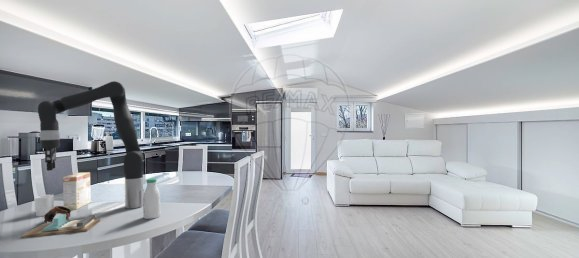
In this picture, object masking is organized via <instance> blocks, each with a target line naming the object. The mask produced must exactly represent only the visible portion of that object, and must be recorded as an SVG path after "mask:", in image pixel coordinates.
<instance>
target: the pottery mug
mask: <svg viewBox="0 0 579 258" xmlns="http://www.w3.org/2000/svg"><path fill="white" fill-rule="evenodd" d="M71 212H72V210H70V209H68V208H66V207H64V206H61V205H55V207H53V209H51V210H50V211H49V212H48V213H46V214H45V216H43V218H44V221H43V222H44V224H48V223H53V221H54V218H56V217H55V216H56V215H57V214H60V215H61V214H66V221H67V220H68V221H69V219H70V217H71Z"/></svg>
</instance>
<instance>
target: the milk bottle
mask: <svg viewBox="0 0 579 258" xmlns="http://www.w3.org/2000/svg"><path fill="white" fill-rule="evenodd" d="M142 207H143V208H142V209H143V218H144V219H145V220H153V219H157V218H159V217H161V194H160V190H159V188H158V186H157V178H154V177H153V178H148V179H146V188H145V189H144V198H143V206H142Z"/></svg>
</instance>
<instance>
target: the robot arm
mask: <svg viewBox="0 0 579 258" xmlns="http://www.w3.org/2000/svg"><path fill="white" fill-rule="evenodd" d="M106 98H109V100H110V103H111V105H112V108H113V118H114V124H115V127H116V131H117V134H118V136H119V137H120V139H121V141H122V143H123V145H124V149H125V155H124V157H123V174H124V197H125V198H124V203H125V204H124V207H125V209H137V208H142V207H143V198H144V192H145V188H144V172H143V165H142V164H143V161H144V154H143V152H142V150H141V147H140V144H139V141H138V136H137V131H136V127H135V126H136V125H135V123H134V119H133V115H132V114H131V110H130V109H129V106H128V102H127V97H126V90H125V87H124V85H123V84H122V83H121V82H119V81H109V82H107V83H105V84H103V85H100V86H98V87H95V88H93V89H90V90H86V91H82V92H79V93H74V94H70V95H67V96H64V97H61V98H60V99H58V100H54V101H49V100H43V101H41V102H39V103H38V106H37V114H38V118H39V122H40V125H39V126H40V127H39V128H40V133H39V142H40V144H39V146H40V149H46V150H45V151H44V159H45V160H44V163H45V164H46V171H53V170H55V168H56V161H57V150H56V149H58V148H61V141H60V140H61V138H60V135H61V134H60V128H59V125H60V124H59V121H58V119H57V114H61V113H63V112H65V111H68V110H69V111H70V110H72V109H76V108H77V109H78V108H80V107H82V106H86V105H88V104H90V103H93V102H95V101H98V100H101V99H106Z"/></svg>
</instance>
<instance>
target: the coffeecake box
mask: <svg viewBox="0 0 579 258" xmlns="http://www.w3.org/2000/svg"><path fill="white" fill-rule="evenodd" d="M62 186H63V188H62V189H63V190H62V191H63V193H62V194H63V196H62V197H63V207H66V208H68V209H70V210H71V211H75V210H78V209H80V208H82V207H84V206H86V205H88V204H90V203H91V201H92V198H91V193H92V191H91V172H90V171H88V172H77V173H76V172H75V173H74V174H69V175H65V176H63V177H62Z"/></svg>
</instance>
